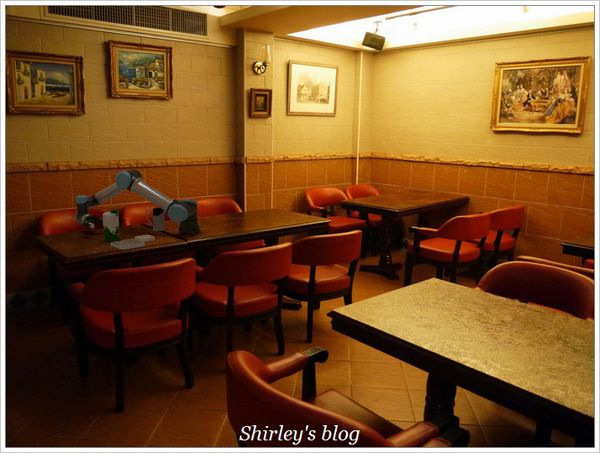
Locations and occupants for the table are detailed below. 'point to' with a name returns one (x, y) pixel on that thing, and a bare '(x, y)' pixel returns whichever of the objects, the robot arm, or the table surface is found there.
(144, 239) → the small square white tray
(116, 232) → the milk carton
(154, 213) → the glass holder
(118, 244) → the shallow grey tray
